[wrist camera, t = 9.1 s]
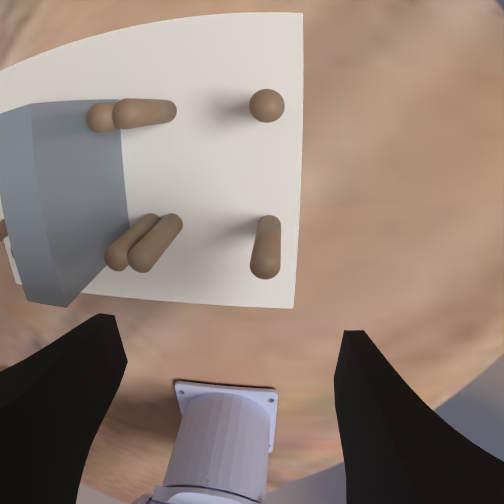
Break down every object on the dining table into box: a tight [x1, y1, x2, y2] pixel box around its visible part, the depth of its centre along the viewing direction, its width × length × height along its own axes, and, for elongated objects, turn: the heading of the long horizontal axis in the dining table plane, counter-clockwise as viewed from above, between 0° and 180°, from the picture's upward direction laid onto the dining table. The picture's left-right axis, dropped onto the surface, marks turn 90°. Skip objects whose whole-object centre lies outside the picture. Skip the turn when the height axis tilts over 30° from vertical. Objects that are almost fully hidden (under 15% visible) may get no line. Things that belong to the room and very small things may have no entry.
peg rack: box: [0, 12, 303, 309], centre depth 15 cm, size 16×21×6 cm
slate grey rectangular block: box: [0, 99, 130, 308], centre depth 13 cm, size 8×2×7 cm, turn 0°
